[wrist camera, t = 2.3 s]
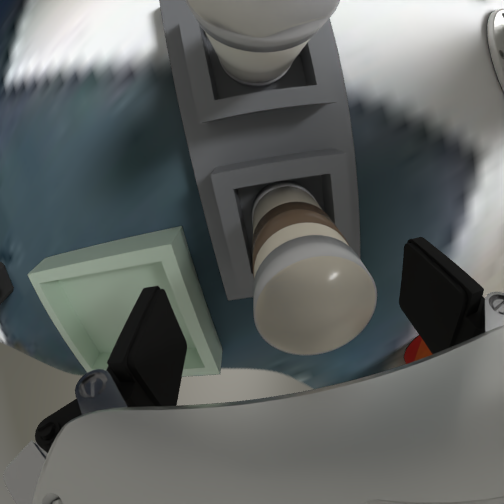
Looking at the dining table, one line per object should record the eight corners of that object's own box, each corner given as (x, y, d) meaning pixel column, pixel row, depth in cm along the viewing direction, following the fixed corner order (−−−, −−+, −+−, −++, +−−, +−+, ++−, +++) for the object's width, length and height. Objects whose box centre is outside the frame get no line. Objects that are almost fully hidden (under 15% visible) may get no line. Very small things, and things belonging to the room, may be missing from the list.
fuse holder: (312, -19, 11) (324, -42, 8) (355, 271, 21) (371, 296, 18) (163, 4, 12) (146, -15, 9) (228, 292, 22) (225, 322, 18)
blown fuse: (312, 175, 17) (379, 243, 8) (318, 235, 18) (372, 342, 9) (246, 186, 17) (241, 267, 8) (258, 246, 19) (264, 362, 10)
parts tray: (181, 225, 19) (171, 244, 16) (222, 349, 24) (220, 374, 22) (45, 257, 20) (27, 274, 17) (99, 355, 25) (89, 375, 23)
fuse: (283, 23, 12) (319, -69, 3) (296, 82, 14) (357, 36, 5) (214, 33, 13) (174, -54, 4) (227, 93, 14) (194, 53, 5)
